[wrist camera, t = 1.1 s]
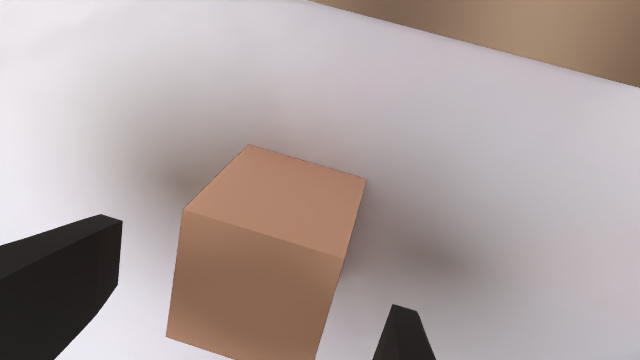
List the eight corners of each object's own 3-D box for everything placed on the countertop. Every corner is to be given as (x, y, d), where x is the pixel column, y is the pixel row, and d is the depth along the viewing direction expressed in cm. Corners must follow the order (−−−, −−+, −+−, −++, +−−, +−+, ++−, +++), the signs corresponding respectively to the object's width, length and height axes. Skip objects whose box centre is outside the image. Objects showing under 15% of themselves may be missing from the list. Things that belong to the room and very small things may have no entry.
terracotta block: (366, 178, 16) (344, 258, 12) (337, 278, 18) (307, 383, 13) (248, 144, 17) (182, 209, 12) (230, 246, 18) (165, 336, 14)
